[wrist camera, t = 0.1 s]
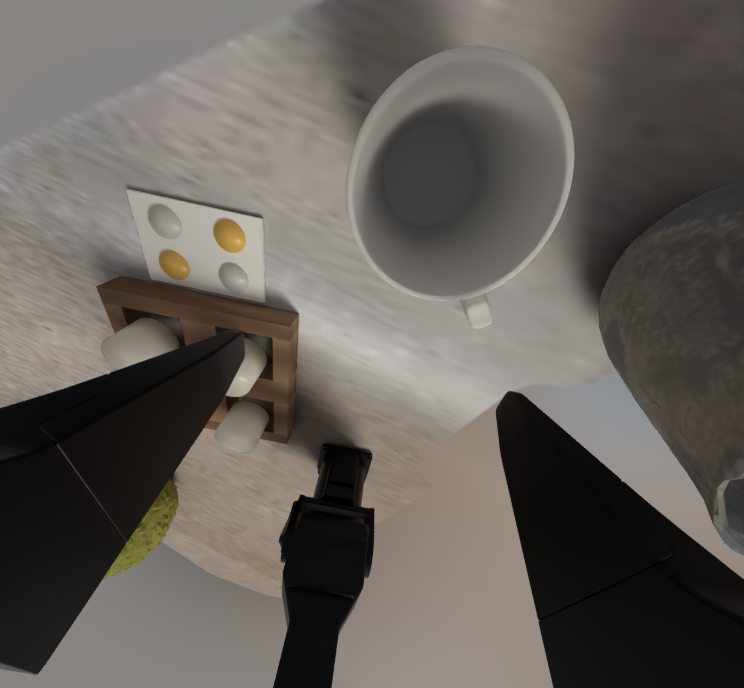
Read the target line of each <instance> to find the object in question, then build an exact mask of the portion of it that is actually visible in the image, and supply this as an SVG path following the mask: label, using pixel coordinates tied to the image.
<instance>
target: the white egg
mask: <svg viewBox="0 0 744 688" xmlns="http://www.w3.org/2000/svg"><path fill="white" fill-rule="evenodd" d="M244 341H245V358H244V360H243V362H242V364H241V366H240V368H239V370H238V372H237V374H236V376H235V378H234V380H233V382H232V384H231V386H230V388H229V390H228V392H227V393H226V396H231V397H240V396H244V395H246V394H247V393H248V392H249V391H250V389H251V388H252V386H253V385H254V383H255V382H256V380H257V379H258V377H259V376H260V374H261V373H262V371H263V370H264V368H265V366H266V364H267V357H266V354H265V352H264V350H263V349H262V348H261V347H260V346H259V345H258V344H257V343H255V342H254V341H252V340H250V339H247V338H244Z"/></svg>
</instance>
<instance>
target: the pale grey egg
mask: <svg viewBox="0 0 744 688" xmlns="http://www.w3.org/2000/svg"><path fill="white" fill-rule="evenodd" d="M268 421H269V416H268V414H267V412H266V411H265V410H264V409H263V408H262V407H261V406H259V405H257V404H255V403H252V402H248V401H240V402H237V403H235V404H234V405H233V406H232V408H231V409H230V411H229V412H228V413H227V415H226V416H225V418H224V419H223V421H222V422H221V424H220V425H219V427H218V428H217V430H216V431H215V438H216V440H217V441H218V442H219V443H220V444H221V445H222V446H224V447H225V448H227V449H229V450H232V451H235V452H241V453H245V452H250V451H252V450H254V448H255V447H256V445H257V443H258V441H259V439H260V437H261V435H262V433H263V431H264V429H265V427H266V425H267V423H268Z"/></svg>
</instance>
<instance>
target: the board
mask: <svg viewBox="0 0 744 688" xmlns="http://www.w3.org/2000/svg"><path fill="white" fill-rule="evenodd" d="M96 287H97V289H98V292H99V294H100V297H101V300H102V302H103V305H104V307H105V310H106V312H107V315H108V317H109V320H110V322H111V325H112V327H113V330H114V332H115V333H117V332H119V331H120V330H122V329H123V328H125V327H127V326H128V325H130V324H132V323H133V322H135V321H136V320H138V319H140V318H149V315H148V312H149V313H154V314H159V315H164V316H168V317H173V318H178V319H180V323H181V327H182V331H183V335H184V340H185V344H186V346H187V345H189V344H192V343H195V342H198V341H201V340H203V339H206V338H209V337H212V336H215V335H217V334H220V333H223V332H226V331H229V330H236V331H241V332H246V333H250V334H255V335H260V336H265V337H270V338H273V363H268V362H267V364H266V366H265V368H264V370H263V371H262V373H261V374H260V376H259V377H258V379H257V380H256V382H255V383H254V385H253V386H252V388H251V389H250V391H249V392H248V393H247V394H246V395H244V397H249V398H254V399H259V400H264V401H269V402H274V415H270V414H268V416H269V421H268V423H267V425H266V427H265V429H264V431H263V433H262V435H261V437H260V439H264V440H269V441H274V442H280V443H285V444H287V443H288V441H289V438H290V436H291V433H292V431H293V428H294V414H295V392H296V369H297V347H298V325H299V313H294V312H289V311H284V310H280V309H275V308H270V307H265V306H261V305H256V304H251V303H246V302H242V301H237V300H232V299H227V298H223V297H218V296H213V295H208V294H204V293H199V292H194V291H189V290H185V289H180V288H175V287H170V286H166V285H161V284H156V283H151V282H146V281H142V280H137V279H132V278H127V277H123V276H120V277H118V278H115V279H113V280H111V281H108V282H106V283H103V284H101V285H99V286H96ZM184 346H185V345H180V344H179V348H181V347H184ZM237 402H239V397H231V396H226V395H225V397H224V399H223V400H222V402H221V403H220V405H219V406H218V408H217V409H216V411H215V412H214V414H213V415H212V417H211V418H210V420H209V421H208V423H207V424H206V426H205V427H204V428H208V429H213V430H217V428H218V427H219V425H220V424H221V422H222V421H223V419H224V418H225V416H226V415H227V413H228V412H229V411H230V409H231V408H232V406H233V405H234V404H235V403H237Z"/></svg>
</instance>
